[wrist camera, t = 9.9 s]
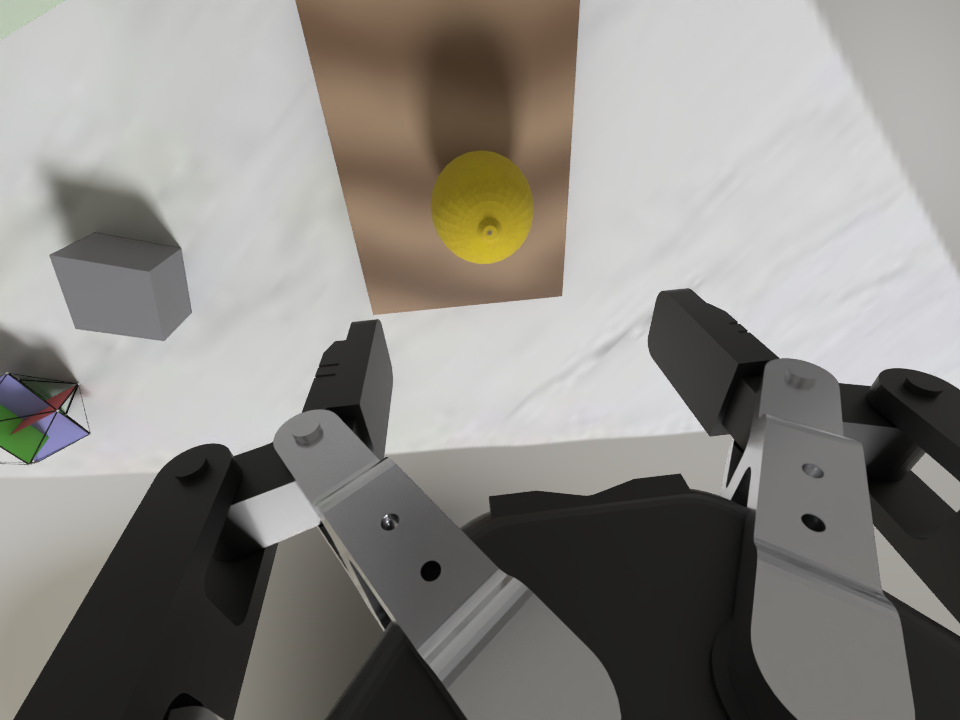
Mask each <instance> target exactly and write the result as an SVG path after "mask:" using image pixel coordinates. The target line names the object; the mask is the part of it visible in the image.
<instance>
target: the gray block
mask: <svg viewBox="0 0 960 720" xmlns="http://www.w3.org/2000/svg"><path fill="white" fill-rule="evenodd" d="M49 256H50V258H51V261H52V264H53V267H54V270H55V272H56V275H57V278H58V281H59V284H60V286H61V289H62V292H63V295H64V298H65V301H66V303H67V306H68V309H69V312H70V315H71V317H72V320H73V323H74V326H75V329H81V330H88V331H95V332H103V333H110V334H117V335H124V336H132V337H139V338H146V339H153V340H161V341H165V340H166V339H167V338H168V337H169V336H170V335H171V333H172V332H173V331H174V330H175V329H176V328H177V327H178V326H179V325H180V324H181V323H182V322H183V321H184V320H185V319H186V318H187V317H188V316H189V315H190V314H191V313H192V310H191V304H190V298H189V292H188V286H187V280H186V274H185V268H184V262H183V256H182V250H181V248H177V247H171V246H166V245H160V244H155V243H149V242H144V241H138V240H133V239H127V238H122V237H116V236H111V235H105V234H100V233H93V234H91V235H89V236H87V237H85V238H83V239H81V240H79V241H77V242H75V243H73V244H71V245H69V246H67V247H65V248H63V249H60V250H58V251H56V252H54V253H52V254H50V255H49Z"/></svg>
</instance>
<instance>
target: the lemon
mask: <svg viewBox="0 0 960 720" xmlns="http://www.w3.org/2000/svg"><path fill="white" fill-rule="evenodd" d="M431 213H432V220H433V223H434V226H435V228H436V231H437V234H438V236H439V237H440V238H441V240H442V241H443V243H444V244H445V246H446V247H447V248H448V249H449V250H451V251H452V252H453V253H454V254H455V255H456V256H458V257H460V258H462V259H464V260H466V261H468V262H472V263H477V264H491V263H495V262H499V261H502V260H504V259H505V258H507V257H509V256H511V255H512V254H513V253H514V252H515V251H516V250H518V249H519V248H520V247H521V245H522V244H523V242H524V241H525V239H526V238H527V236H528V233H529V231H530V228H531V226H532V220H533V213H534V206H533V196H532V192H531V189H530V186H529V184H528V181H527V179H526V177H525V176H524V175H523V173H522V172H521V170H520V169H519V167H518V166H516V165H515V164H514V163H513V162H512V161H510V160H509V159H508V158H506V157H504V156H502V155H500V154H497V153H495V152H490V151H483V150H480V151H473V152H468V153H465V154H463V155H461V156H459V157H456V158H455V159H454V160H453V161H451V162H450V163H449V164H448V165H446V166H445V168H444V169H443V171H442V172H441V173H440V175H439V176H438V178H437V181H436V183H435V186H434V188H433V191H432V199H431Z"/></svg>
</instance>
